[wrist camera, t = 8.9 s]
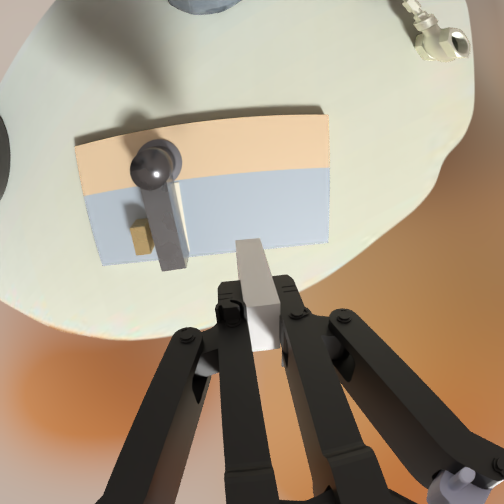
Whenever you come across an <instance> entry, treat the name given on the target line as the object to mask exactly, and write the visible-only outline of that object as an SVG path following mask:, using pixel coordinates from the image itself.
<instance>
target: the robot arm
mask: <svg viewBox="0 0 504 504" xmlns="http://www.w3.org/2000/svg"><path fill="white" fill-rule="evenodd" d="M9 170H10V148H9V141H8V136H7V132H6V129H5V126H4V123H3V121H2V119H1V118H0V200H1V198H2V196H3V194H4V191H5V189H6V186H7V182H8V177H9ZM235 244H236V255H237V266H238V277H239V280H238V281H228V282H221V284H220V285H219V287H218V304H217V305H216V307H215V312H216V318H217V324H216V325H215V326H214V327H212V328H211V329H208V330H206V331H203V332H201V331H200V330H198V329H197V328H192V327H186V328H182V329H180V330H178V331H177V332H175V334H174V335H173V336H172V338H171V341H170V343H169V345H168V347H167V349H166V351H165V353H164V356H163V358H162V360H161V362H160V364H159V366H158V368H157V371H156V373H155V375H154V377H153V379H152V381H151V384H150V386H149V388H148V390H147V393H146V395H145V397H144V399H143V401H142V404H141V406H140V409H139V411H138V413H137V415H136V417H135V420H134V422H133V425H132V427H131V429H130V431H129V433H128V436H127V438H126V441H125V443H124V445H123V448H122V450H121V452H120V455H119V457H118V460H117V462H116V464H115V467H114V469H113V472H112V474H111V476H110V479H109V481H108V484H107V486H106V489H105V492H104V494H103V496H102V497H101V498H100V499H99V500H98V501H97V502H96V503H95V504H175V500H176V497H177V493H178V490H179V486H180V482H181V479H182V476H183V472H184V469H185V466H186V462H187V459H188V455H189V452H190V448H191V445H192V441H193V438H194V434H195V431H196V428H197V424H198V421H199V417H200V414H201V411H202V407H203V404H204V400H205V397H206V393H207V390H208V387H209V383H210V380H211V375H212V374H216V373H218V372H219V376H220V395H221V413H222V428H223V443H224V456H225V474H224V481H225V493H226V504H417V503H415V502H413V501H411V500H409V499H407V498H406V497H404V496H402V495H400V494H398V493H396V492H394V491H392V490H390V489H388V488H387V485H386V482H385V479H384V477H383V474H382V471H381V468H380V466H379V463H378V460H377V458H376V455H375V453H374V451H373V450H372V449H371V448H370V447H369V446H366V445H365V444H364V443H363V440H362V438H361V435H360V432H359V430H358V427H357V425H356V422H355V419H354V417H353V414H352V411H351V409H350V406H349V404H348V401H347V399H346V396H345V394H344V391H343V389H342V386H341V384H342V385H343V387H344V388H345V389H346V390H347V392H348V393H349V394H350V396H351V397H352V398H353V400H354V401H355V402H356V404H357V405H358V406H359V408H360V409H361V410H362V412H363V413H364V414H365V415H366V417H367V418H368V419H369V421H370V422H371V423H372V425H373V426H374V427H375V429H376V430H377V431H378V432H379V434H380V435H381V436H382V438H383V439H384V440H385V441H386V443H387V444H388V445H389V447H390V448H391V449H392V451H393V452H394V453H395V454H396V456H397V457H398V458H399V460H400V461H401V462H402V464H403V465H404V466H405V467H406V469H407V470H408V471H409V472H410V474H411V475H412V476H413V477H414V478H415V479H416V480H417V481H418V482H419V483H420V484H422V485H423V486H424V487H425V488H427V489H428V493H427V502H428V504H484V503H485V501H486V499H487V498H488V495H489V493H490V491H491V490H492V488H493V487H495V486H496V485H497V484H499V483H500V482H502V481H503V480H504V448H502V447H500V446H498V445H496V444H494V443H492V442H490V441H488V440H486V439H484V438H482V437H480V436H478V435H476V434H474V433H473V432H471V431H469V429H468V428H467V427H466V426H465V425H464V424H463V423H462V422H461V421H460V420H459V419H458V418H457V416H456V415H455V414H454V413H453V412H452V411H451V410H450V409H449V408H448V407H447V406H446V405H445V404H444V403H443V402H442V401H441V400H440V398H439V397H438V396H437V395H436V394H435V393H434V392H433V391H432V390H431V389H430V388H429V387H428V386H427V385H426V384H425V383H424V382H423V381H422V380H421V379H420V378H419V377H418V375H417V374H416V373H415V372H413V370H412V369H411V368H410V367H409V366H408V365H407V364H406V363H405V362H404V361H403V360H402V359H401V358H400V357H399V356H398V355H397V354H396V353H395V352H394V351H393V350H392V349H391V348H390V347H389V346H388V345H387V344H386V343H385V342H384V341H383V340H382V339H381V338H380V337H379V336H378V335H377V334H376V333H375V332H374V331H373V330H372V329H371V328H370V327H369V326H368V325H367V324H366V323H365V322H364V321H363V320H362V319H361V318H360V317H359V316H358V315H357V314H356V313H355V312H353V311H352V310H349V309H336V310H334V311H332V312H331V314H330V316H329V317H325V316H317V315H314V314H312V313H311V311H310V310H309V309H308V308H306V307H305V306H304V304H303V302H302V299H301V297H300V294H299V292H298V289H297V287H296V285H295V282H294V280H293V279H292V278H291V277H290V276H288V275H279V276H272V275H271V272H270V269H269V265H268V262H267V259H266V256H265V253H264V250H263V246H262V243H261V240H260V238H254V239H244V240H235ZM280 343H281V347H282V367H283V366H284V367H285V371H286V375H287V379H288V383H289V387H290V391H291V395H292V399H293V403H294V407H295V411H296V415H297V419H298V423H299V427H300V431H301V435H302V439H303V443H304V447H305V451H306V455H307V459H308V463H309V467H310V471H311V475H312V480H313V493H314V497H313V498H311V499H309V500H306V501H289V500H279V496H278V491H277V485H276V480H275V475H274V470H273V467H272V464H271V458H270V453H269V448H268V441H267V435H266V430H265V424H264V418H263V412H262V407H261V400H260V394H259V389H258V382H257V376H256V370H255V364H254V358H253V352H254V351H262V350H270V349H278V348H280Z"/></svg>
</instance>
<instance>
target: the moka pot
mask: <svg viewBox="0 0 504 504" xmlns="http://www.w3.org/2000/svg"><path fill="white" fill-rule="evenodd" d="M168 1H169V3H170V4H171V5H172V6H174V7H176V8H177V9H180V10H182V11H184V12H187V13H190V14H194V15H203V14H213V13H219V12H222V11H225V10H227V9H228V8H230V7H232V6H234V5H235V4H237V3H238V2H240V1H241V0H168Z"/></svg>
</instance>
